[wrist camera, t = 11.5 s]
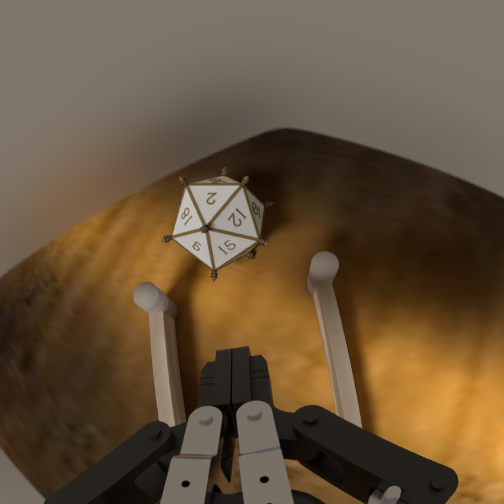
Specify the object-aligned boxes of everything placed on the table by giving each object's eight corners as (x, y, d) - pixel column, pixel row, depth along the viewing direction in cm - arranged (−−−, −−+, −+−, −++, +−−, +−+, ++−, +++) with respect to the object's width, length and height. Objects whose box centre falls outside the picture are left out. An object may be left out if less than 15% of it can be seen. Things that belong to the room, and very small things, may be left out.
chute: (326, 273, 27) (334, 248, 22) (364, 468, 19) (382, 484, 15) (156, 302, 27) (133, 284, 23) (181, 493, 20) (160, 512, 15)
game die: (213, 256, 33) (146, 187, 27) (281, 209, 31) (220, 129, 25) (220, 318, 25) (128, 239, 20) (309, 262, 24) (229, 159, 18)
